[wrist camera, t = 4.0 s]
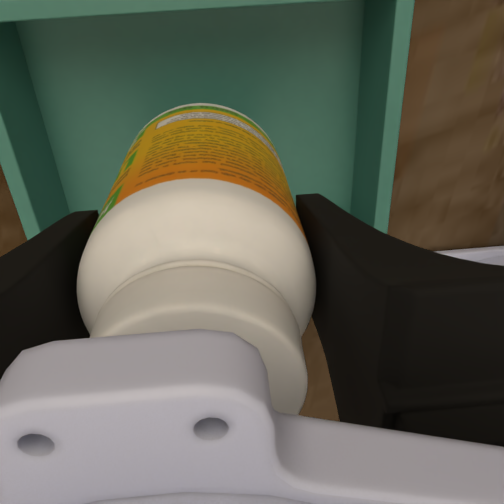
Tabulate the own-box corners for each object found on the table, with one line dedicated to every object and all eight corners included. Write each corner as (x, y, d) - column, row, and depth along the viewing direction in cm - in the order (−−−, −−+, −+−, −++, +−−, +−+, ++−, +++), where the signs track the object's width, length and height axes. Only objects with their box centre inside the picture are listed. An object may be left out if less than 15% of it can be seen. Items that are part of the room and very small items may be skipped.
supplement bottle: (120, 93, 15) (0, 261, 6) (289, 104, 15) (379, 271, 7) (130, 242, 17) (55, 491, 9) (272, 246, 18) (322, 486, 10)
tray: (379, -29, 18) (418, -26, 14) (358, 231, 23) (382, 275, 20) (-6, -5, 17) (-58, 3, 14) (72, 254, 23) (49, 303, 20)
